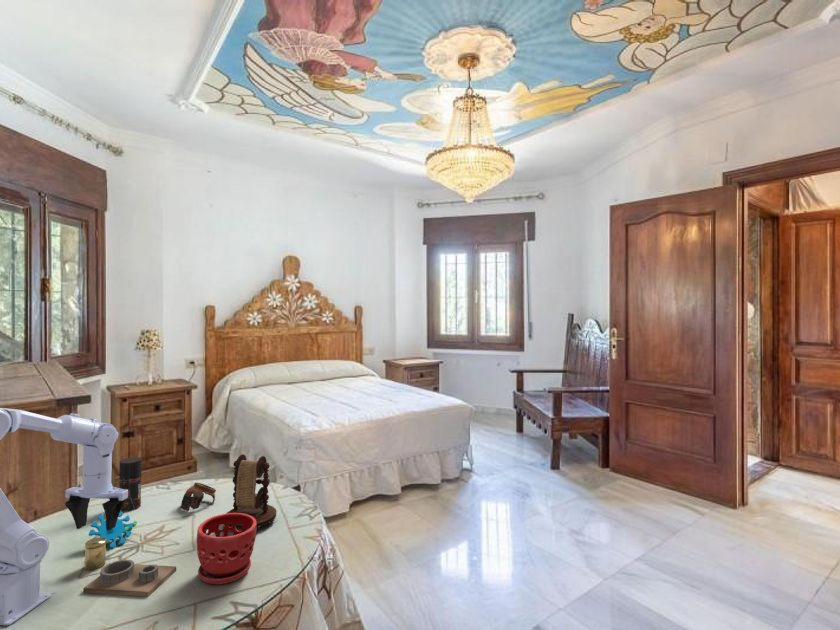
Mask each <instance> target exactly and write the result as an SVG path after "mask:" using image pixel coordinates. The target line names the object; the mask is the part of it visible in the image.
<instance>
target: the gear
mask: <svg viewBox="0 0 840 630" xmlns="http://www.w3.org/2000/svg"><path fill="white" fill-rule="evenodd" d="M123 515H124V512H122V511H120V513H119V516H118V518H119V519H117V522H116V526H115V527H114V528H113V529H111V530H107V529H106V520H104V517H105V514H104V513H103V514H100V515H97V517H96V518H97V520H98V521H99V522H100V524H99V525H98V521H97V520H94V521H92V522H91V524H90V527H91V528H92V529H90V530H89V532H88V536H89V537H92V536H99V537H104V538H106V544H107V543H108V542H111V541H112V542H111V543H110V545H108V546H109V547H108V548H109V549H115V548H116V546H117V543H116V540H117V539H119V541H118V545H119V546H121V545H123V544H125V543H126V542H127V541H126V539H125V538H129V537H130V536H131V535H132V534H133V532H132V530H133V528H135V527H136V526H137V524H138V521H136V520H134V521H133V522H130V523H128V522H129V521H130V519H131V518H130V515H127V516H125V517H123V518H122V516H123ZM120 518H121V519H120ZM124 522H126V523H124ZM93 528H94V529H93ZM95 529H96V530H97V531H96V530H95ZM123 534H124V536H125V538H124V537H123ZM94 538H97V537H93V538H92V539H94Z"/></svg>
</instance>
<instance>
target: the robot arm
mask: <svg viewBox="0 0 840 630" xmlns="http://www.w3.org/2000/svg"><path fill="white" fill-rule="evenodd" d="M18 429H22V430H23V429H24V430H31V431H38V432H43V433H48V434H50V437H51V439H53V440H54V441H59V442H66V443H70V444H77V445H80V446H82V447H83V448H82V449H83V450H82V451H83V454H82V486H75V487H73V486H72V487H70V488H67V489H65V496H64V497H65V499H68V500H67V501H66V502H65V503H64V504H65V505H64V506H65V507H66V508H67V509H68V511H69V512H70V514H71V515H72V519H73V520H74V524H75V527H76V529H77V530H79V529H82V528H84V527H85V526H86V525H87V522H88V509H89V505H90V500H91V499H104V500H105V499H106V500H107V501H105V502H103V503H102V509H103V510H104V513H105V514H104V516H105V521H106V529H107V530H111V529H113V528H114V527H115V526H116V522H117V519H118V518H119V517H118V516H119V513H120V511H121V509H122V507H123V505H124V503H125V502H126V500H127V498H128V490H125V489H120V488H119V487H116V486H113V484H112V472H113V471H112V470H113V468H112V465H113V462H112V460H113V458H112V457H113V451H114V449H115V448H114V447H115V443H116V442H117V440H118V438H119V432H118V431H117V428H116V426H114V425H113V423H112V424H111V423H106V422H98V419H96V418H89V419H88V418H83V417H80V414H79V413H72V412H71V413H69V414H64V415H60V416H59V417H57V418H55V417H51V416H46V415H43V414H38V413H34V412H30V411H26V410H23V409H22V410H21V409H16V408H5V407H0V441H1V440H2V439H3V438H4V437H5V435H6V434H7V433H9V434H12V433H14V432H16V431H17V430H18ZM121 512H122V511H121ZM49 547H50V540H49V538H48V537H47V536H46V535H45V534H41V533H38V532H37V531H36V529H35V528H34V527H33V526H32V525H30V524H29V523H27V522H25V521H24V519H22V518H21V517H20V515H19V514H18V512H17V511H16V509H15V508H14V506H13V505H12V503H11V501H9V499H8V497H7V495H6V494H5V493H4V491H3V490H2V488H1V487H0V626H10V625H12V624H14V623H15V622H16V621H18V620H19V619H20V618H22V617H23V616H25V615H26V614H27V613H29V612H31V611H32V610H33V609H35V608H36V607H38V606H39V605H40V604H42V603H43V602H45V601H46V600H48V599H49V598H50V597H51V593H41V592H40V591H41V589H40V588H41V587H40V585H41V583H40V582H41V581H40V580H41V563H42V559H44V557H45V556H46V554H47V553H48V551H49Z"/></svg>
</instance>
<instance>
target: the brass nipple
mask: <svg viewBox="0 0 840 630" xmlns="http://www.w3.org/2000/svg"><path fill="white" fill-rule="evenodd" d="M93 538H94V537H93ZM93 538H92V539H91V538H90V539H89V540H87V541H85V543H84V548H85V550H84V551H85V553H84V554H85V555H84V557H85V559H84V570H85V571H87V572H92V571H97V570H99V569H100V570H101V569H102V568H103V567H104V566H106V553H107V548H106V547H107V546H106V545H107V543H106V538H104V537H100V536H99V537H96V538H94V539H93Z"/></svg>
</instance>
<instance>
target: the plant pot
mask: <svg viewBox="0 0 840 630" xmlns="http://www.w3.org/2000/svg"><path fill="white" fill-rule="evenodd" d="M226 513H227V512H226ZM226 513H221V514H217V515H214V516H212V517H211V516H210V517H209V518H207V519H206V520H204V521H202V522H201V523H200V525H199V526H198V527H197V531H196V532H197V533H196V550H197V551H196V552H197V558H198V561H199V564H200V565H199V566H198V570H197V574H198V577H199V578H200V580H202V581H203V582H205V583H207V584H211V585H223V584H224V585H225V584H227V583H228V584H229V583H231V582H235V581H237V580H238V579H240V578H242V577H243V576H245V575H246V573H248V572H249V570H250V568H251V566H252V559H251V556H252V553H253V551H254V548H255V547H254V546H255V542H256V536H257V532H256V527H257V522H256V520H255V518H254V517H252V516H250V515H248V514H243V513H227V514H226ZM237 523H241V524H242V526H243V529H240V530H239V529H236V524H237ZM229 524H233V526H232V527H229ZM220 526H223V527H222V528H220ZM247 528H248V529H247ZM229 532H232V535H229ZM221 533H222V534H223V535H221ZM211 534H214V535H215V536H213V535H212V536H211Z"/></svg>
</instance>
